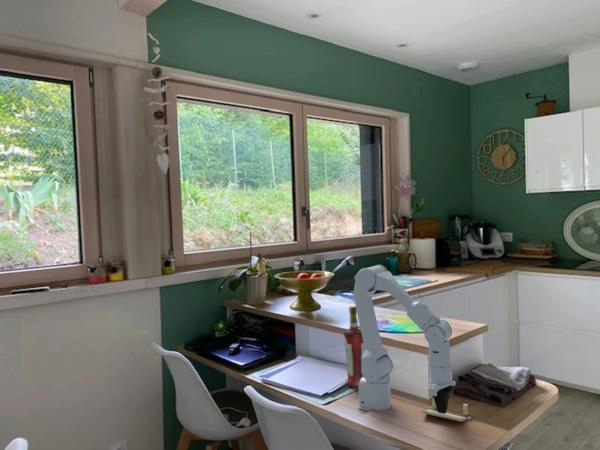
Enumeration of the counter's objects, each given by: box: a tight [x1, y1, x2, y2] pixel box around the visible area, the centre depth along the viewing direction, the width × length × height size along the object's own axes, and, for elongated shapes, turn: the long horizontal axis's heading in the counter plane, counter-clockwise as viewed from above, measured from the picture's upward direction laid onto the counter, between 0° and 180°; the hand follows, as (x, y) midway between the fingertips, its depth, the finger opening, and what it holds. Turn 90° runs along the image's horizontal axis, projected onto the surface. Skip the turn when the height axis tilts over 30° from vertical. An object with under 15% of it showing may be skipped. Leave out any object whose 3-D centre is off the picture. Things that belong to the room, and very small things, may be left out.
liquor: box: [343, 305, 365, 389], centre depth 158 cm, size 7×7×28 cm
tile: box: [420, 409, 467, 422], centre depth 127 cm, size 11×6×1 cm, turn 54°
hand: (442, 412), depth 126 cm, fingers closed
